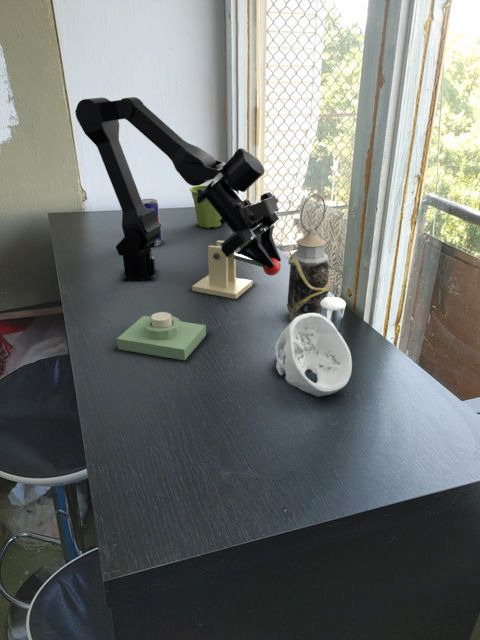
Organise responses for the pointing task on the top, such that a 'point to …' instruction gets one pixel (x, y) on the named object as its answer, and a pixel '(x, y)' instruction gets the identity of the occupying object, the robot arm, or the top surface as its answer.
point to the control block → (162, 338)
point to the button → (161, 320)
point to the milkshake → (333, 309)
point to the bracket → (221, 276)
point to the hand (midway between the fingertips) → (276, 264)
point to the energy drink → (151, 205)
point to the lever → (267, 270)
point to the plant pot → (205, 210)
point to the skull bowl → (314, 355)
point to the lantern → (308, 273)
